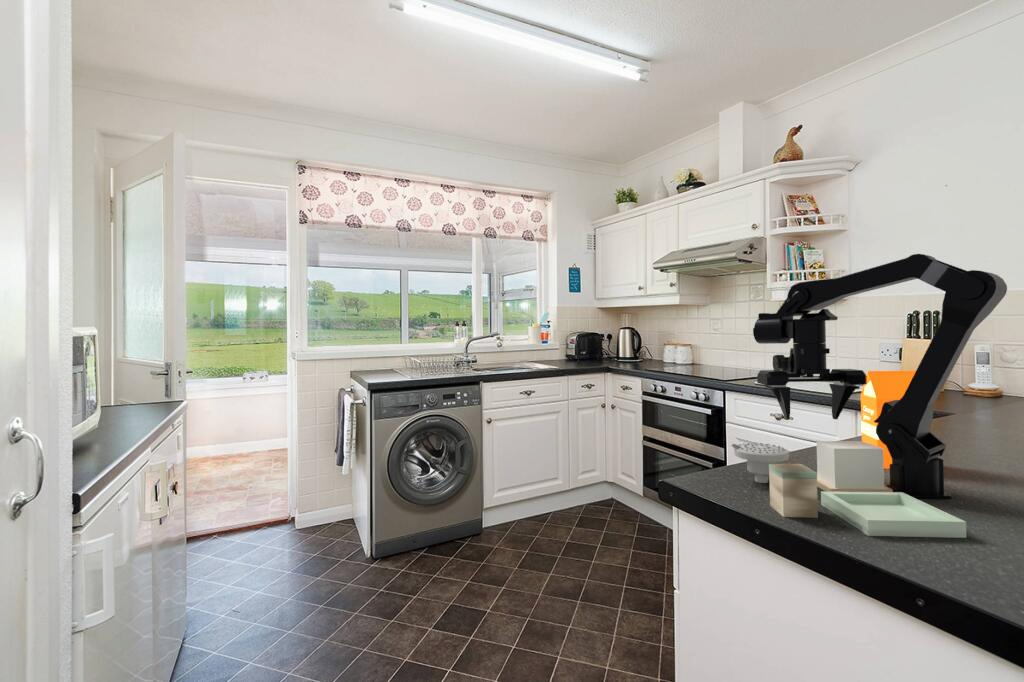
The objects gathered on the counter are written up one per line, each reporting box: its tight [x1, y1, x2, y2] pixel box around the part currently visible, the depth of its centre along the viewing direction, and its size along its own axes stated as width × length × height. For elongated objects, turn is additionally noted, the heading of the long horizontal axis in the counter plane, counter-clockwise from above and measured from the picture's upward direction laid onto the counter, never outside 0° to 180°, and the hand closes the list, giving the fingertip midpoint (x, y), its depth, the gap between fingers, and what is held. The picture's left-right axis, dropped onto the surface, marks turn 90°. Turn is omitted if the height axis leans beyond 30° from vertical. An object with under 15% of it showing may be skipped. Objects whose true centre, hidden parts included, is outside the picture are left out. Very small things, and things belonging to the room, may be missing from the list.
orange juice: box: [860, 370, 916, 470], centre depth 100 cm, size 8×9×20 cm
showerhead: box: [730, 442, 790, 484], centre depth 91 cm, size 9×7×10 cm
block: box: [768, 463, 819, 518], centre depth 76 cm, size 5×5×7 cm
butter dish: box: [816, 440, 894, 492], centre depth 87 cm, size 10×9×8 cm
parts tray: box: [820, 490, 967, 539], centre depth 71 cm, size 12×12×2 cm
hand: (810, 419), depth 97 cm, fingers open, 9 cm apart
